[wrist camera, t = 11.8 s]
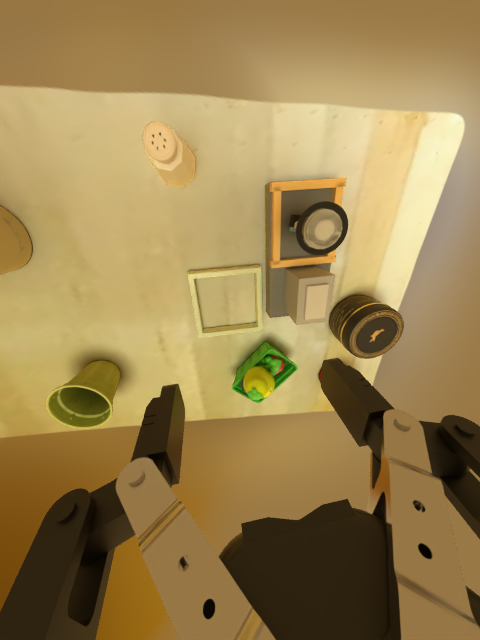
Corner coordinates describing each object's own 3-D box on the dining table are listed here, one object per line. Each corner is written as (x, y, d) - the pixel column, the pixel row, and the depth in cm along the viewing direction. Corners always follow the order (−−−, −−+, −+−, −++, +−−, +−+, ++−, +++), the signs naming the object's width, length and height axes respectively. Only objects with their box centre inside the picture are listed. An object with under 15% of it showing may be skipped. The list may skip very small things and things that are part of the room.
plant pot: (66, 376, 41) (34, 414, 33) (91, 343, 39) (62, 376, 31) (114, 397, 45) (94, 436, 37) (139, 368, 42) (123, 403, 35)
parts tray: (199, 332, 40) (198, 337, 39) (188, 271, 35) (187, 274, 33) (260, 325, 41) (262, 330, 40) (258, 264, 36) (261, 267, 34)
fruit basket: (254, 386, 48) (266, 432, 38) (223, 368, 45) (227, 414, 35) (290, 351, 45) (313, 392, 35) (260, 330, 42) (275, 367, 32)
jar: (319, 335, 44) (338, 358, 37) (337, 288, 40) (363, 304, 33) (361, 339, 46) (387, 361, 39) (383, 295, 42) (417, 312, 35)
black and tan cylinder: (339, 209, 30) (373, 206, 21) (327, 249, 32) (353, 262, 23) (291, 202, 30) (305, 197, 21) (283, 242, 32) (292, 253, 23)
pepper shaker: (188, 133, 27) (177, 91, 18) (202, 182, 30) (198, 170, 20) (147, 143, 27) (113, 108, 18) (163, 192, 30) (142, 185, 20)
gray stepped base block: (266, 312, 40) (280, 338, 32) (265, 185, 31) (285, 176, 23) (318, 307, 41) (344, 330, 33) (332, 181, 32) (374, 171, 24)
